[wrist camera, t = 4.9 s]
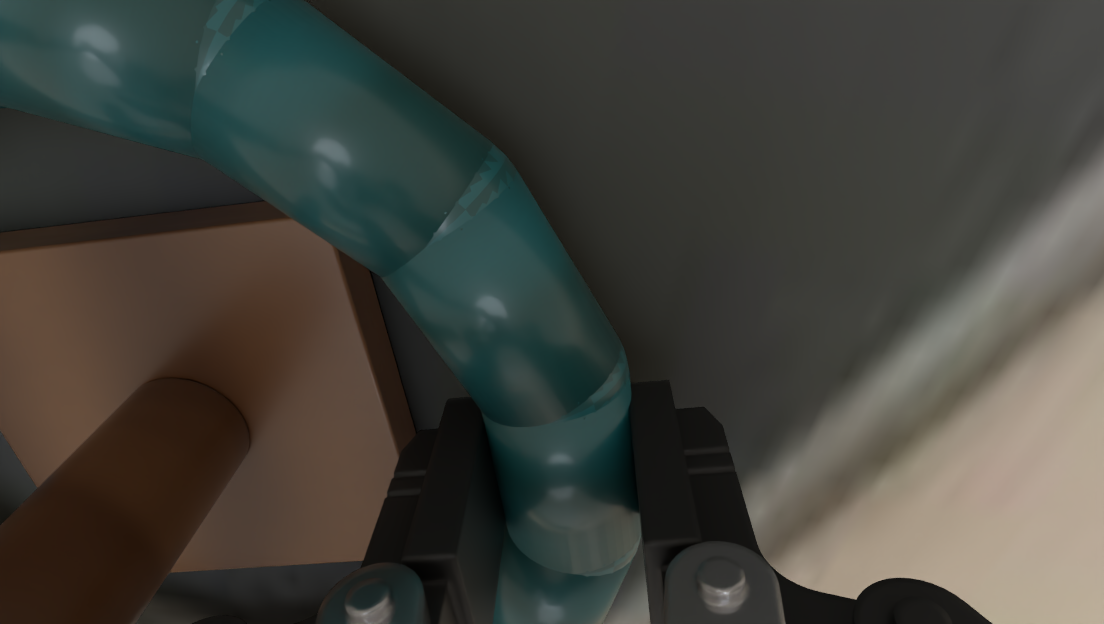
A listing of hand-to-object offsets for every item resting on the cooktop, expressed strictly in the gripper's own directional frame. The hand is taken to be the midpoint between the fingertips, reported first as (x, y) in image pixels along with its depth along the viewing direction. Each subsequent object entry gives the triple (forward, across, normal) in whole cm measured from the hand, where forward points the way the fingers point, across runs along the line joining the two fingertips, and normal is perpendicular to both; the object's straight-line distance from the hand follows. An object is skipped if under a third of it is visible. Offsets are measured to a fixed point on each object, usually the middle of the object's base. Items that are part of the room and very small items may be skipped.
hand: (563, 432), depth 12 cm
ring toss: (+2, +7, 0) cm, 8 cm away
